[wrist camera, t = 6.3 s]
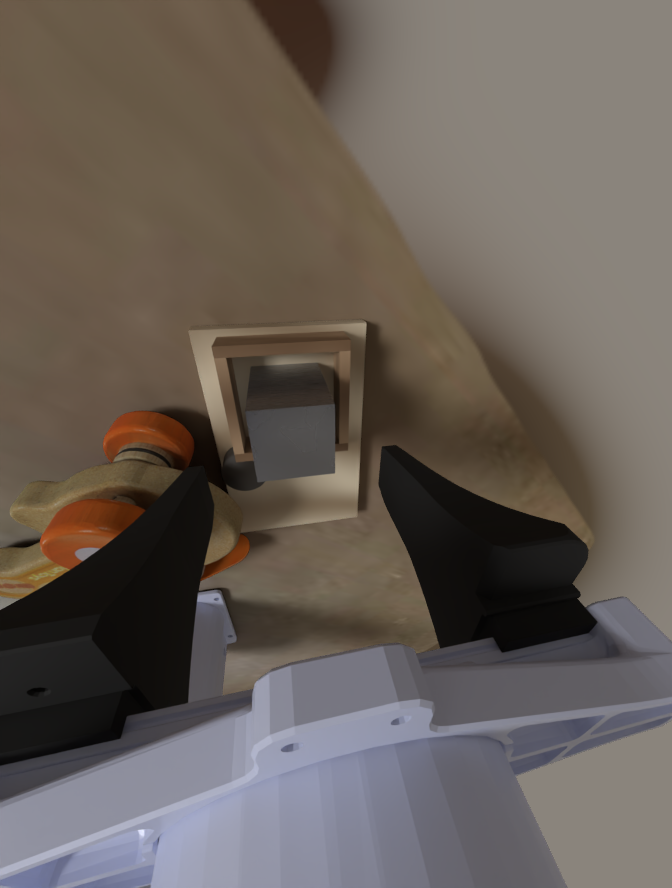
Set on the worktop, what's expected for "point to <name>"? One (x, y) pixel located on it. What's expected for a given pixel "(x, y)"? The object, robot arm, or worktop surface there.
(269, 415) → the grey rectangular block
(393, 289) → the worktop surface
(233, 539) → the toy helicopter
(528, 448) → the worktop surface
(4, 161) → the worktop surface
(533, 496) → the worktop surface
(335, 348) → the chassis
